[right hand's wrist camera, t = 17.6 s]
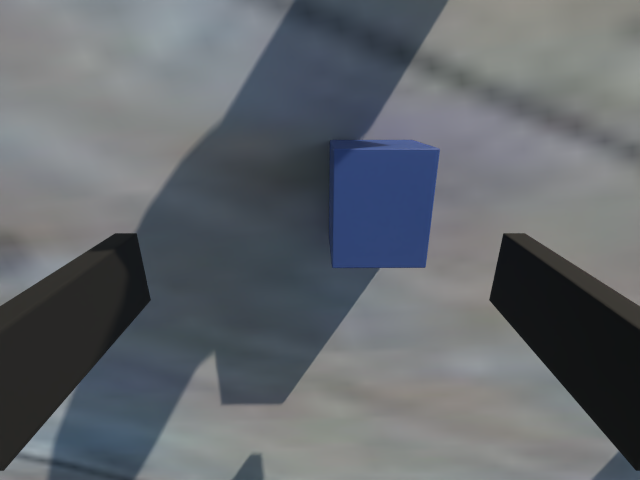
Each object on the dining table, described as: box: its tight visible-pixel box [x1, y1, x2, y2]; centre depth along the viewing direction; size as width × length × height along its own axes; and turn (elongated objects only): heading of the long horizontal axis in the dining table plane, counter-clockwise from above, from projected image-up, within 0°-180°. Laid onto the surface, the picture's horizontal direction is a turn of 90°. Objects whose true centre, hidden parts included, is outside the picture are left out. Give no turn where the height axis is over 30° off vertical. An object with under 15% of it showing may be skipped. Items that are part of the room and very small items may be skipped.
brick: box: [329, 140, 440, 268], centre depth 16 cm, size 4×5×4 cm
